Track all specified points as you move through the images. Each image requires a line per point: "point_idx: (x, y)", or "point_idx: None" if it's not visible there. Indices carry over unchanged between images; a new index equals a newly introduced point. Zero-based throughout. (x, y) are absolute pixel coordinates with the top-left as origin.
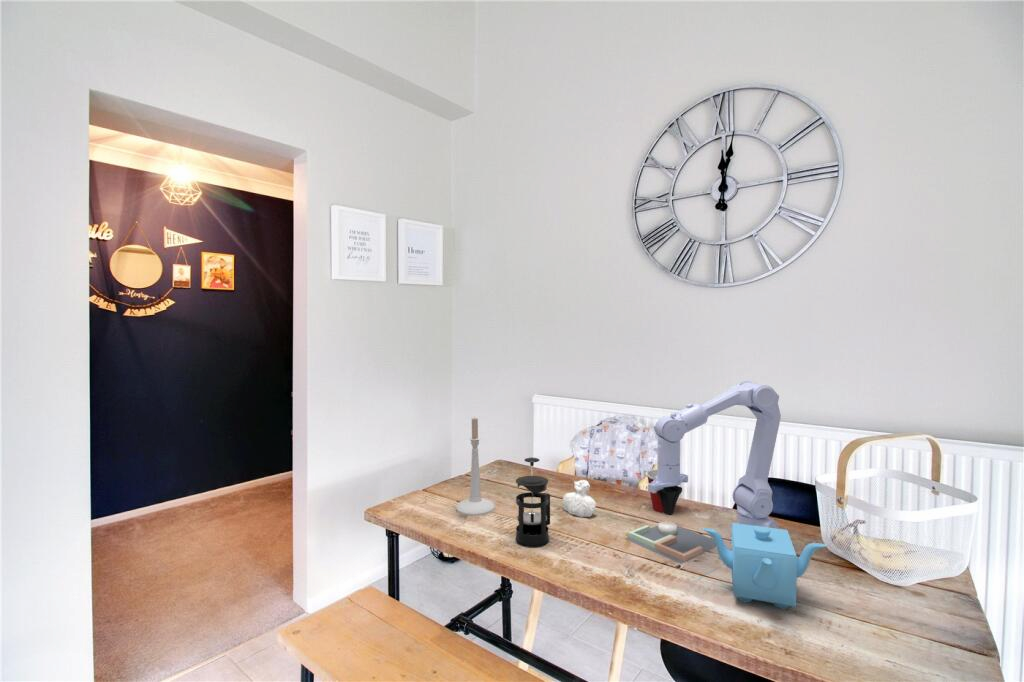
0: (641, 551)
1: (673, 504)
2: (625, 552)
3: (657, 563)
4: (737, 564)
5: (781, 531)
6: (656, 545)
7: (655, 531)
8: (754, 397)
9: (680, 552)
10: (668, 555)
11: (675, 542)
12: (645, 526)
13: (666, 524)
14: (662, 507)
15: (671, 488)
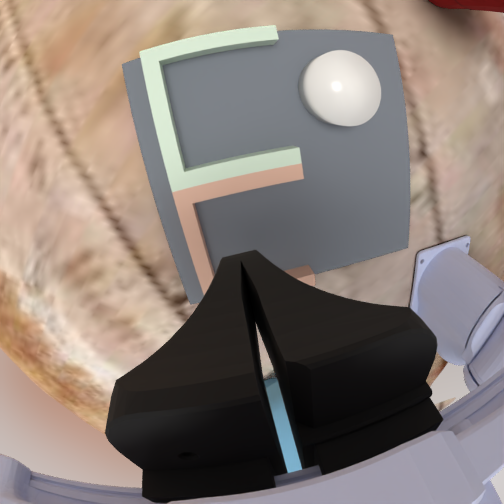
0: (126, 168)
1: (270, 359)
2: (71, 156)
3: (130, 263)
4: None
5: None
6: (174, 199)
7: (293, 60)
8: None
9: None
10: (187, 250)
11: None
12: (259, 31)
13: (347, 81)
14: (215, 274)
15: (305, 466)
